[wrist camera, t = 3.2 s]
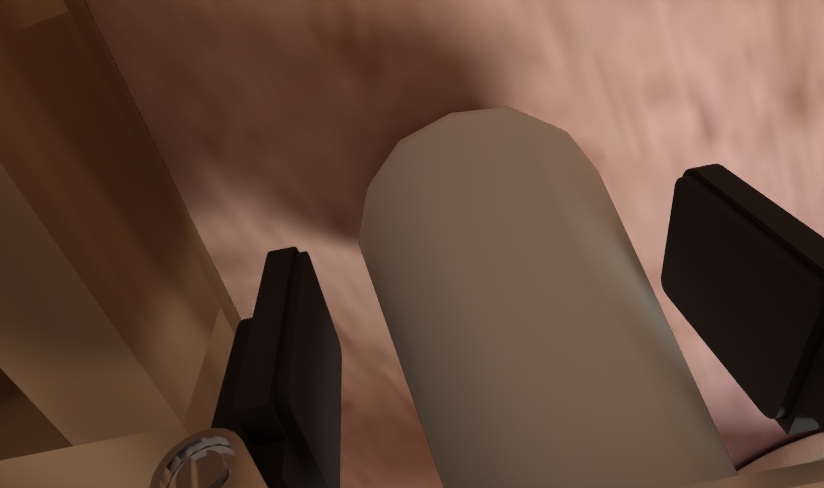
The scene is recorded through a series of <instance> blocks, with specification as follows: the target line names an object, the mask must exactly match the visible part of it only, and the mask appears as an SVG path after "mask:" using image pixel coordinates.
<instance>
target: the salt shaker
mask: <svg viewBox="0 0 824 488" xmlns="http://www.w3.org/2000/svg"><path fill="white" fill-rule="evenodd" d="M359 246H360V249H361V252H362V255H363V257H364V260H365V263H366V266H367V269H368V272H369V275H370V278H371V280H372V283H373V286H374V289H375V292H376V295H377V298H378V300H379V303H380V306H381V309H382V312H383V315H384V318H385V321H386V323H387V326H388V329H389V332H390V335H391V338H392V341H393V344H394V346H395V349H396V352H397V355H398V358H399V361H400V364H401V366H402V369H403V372H404V375H405V378H406V381H407V384H408V387H409V389H410V392H411V395H412V398H413V401H414V404H415V407H416V410H417V412H418V415H419V418H420V421H421V424H422V427H423V430H424V432H425V435H426V438H427V441H428V444H429V447H430V450H431V453H432V455H433V458H434V461H435V464H436V467H437V470H438V473H439V476H440V478H441V481H442V484H443V487H444V488H677V487H682V486H687V485H693V484H698V483H703V482H708V481H714V480H719V479H724V478H729V477H734V476H738V474H737V472H736V470H735V468H734V465H733V463H732V461H731V459H730V457H729V455H728V452H727V450H726V448H725V446H724V444H723V441H722V439H721V437H720V435H719V433H718V431H717V428H716V426H715V424H714V422H713V420H712V418H711V415H710V413H709V411H708V409H707V407H706V404H705V402H704V400H703V398H702V396H701V394H700V391H699V389H698V387H697V385H696V383H695V381H694V378H693V376H692V374H691V372H690V370H689V367H688V365H687V363H686V361H685V359H684V357H683V354H682V352H681V350H680V348H679V346H678V343H677V341H676V339H675V337H674V335H673V333H672V330H671V328H670V326H669V324H668V322H667V320H666V317H665V315H664V313H663V311H662V309H661V306H660V304H659V302H658V300H657V298H656V296H655V293H654V291H653V289H652V287H651V285H650V283H649V280H648V278H647V276H646V274H645V272H644V269H643V267H642V265H641V263H640V261H639V259H638V256H637V254H636V252H635V250H634V248H633V246H632V243H631V241H630V239H629V237H628V235H627V232H626V230H625V228H624V226H623V224H622V222H621V219H620V217H619V215H618V213H617V211H616V209H615V206H614V204H613V202H612V200H611V198H610V195H609V193H608V191H607V189H606V187H605V185H604V182H603V180H602V178H601V176H600V174H599V172H598V170H597V169H596V167H595V166H594V165H593V164H592V162H591V161H590V160H589V159H588V157H587V156H586V155H585V154H584V152H583V151H582V150H581V149H580V147H579V146H578V145H577V144H576V142H575V141H574V140H573V139H572V137H571V136H570V135H569V134H568V132H566V131H564V130H562V129H560V128H558V127H556V126H553V125H551V124H549V123H546V122H544V121H542V120H539V119H537V118H534V117H532V116H530V115H527V114H525V113H523V112H520V111H518V110H516V109H513V108H511V107H508V106H506V107H498V108H489V109H481V110H472V111H464V112H455V113H449V114H448V115H446V116H444V117H442V118H440V119H438V120H436V121H435V122H433V123H431V124H429V125H427V126H425V127H424V128H422V129H420V130H418V131H416V132H414V133H412V134H411V135H409V136H407V137H405V138H403V139H401V140H399V141H398V143H397V144H396V146H395V147H394V149H393V150H392V152H391V153H390V155H389V156H388V158H387V159H386V161H385V162H384V164H383V165H382V166H381V168H380V169H379V171H378V172H377V174H376V175H375V177H374V178H373V180H372V181H371V183H370V184H369V186H368V189H367V193H366V197H365V204H364V210H363V217H362V224H361V230H360V237H359Z"/></svg>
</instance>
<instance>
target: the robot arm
mask: <svg viewBox="0 0 824 488" xmlns="http://www.w3.org/2000/svg"><path fill="white" fill-rule="evenodd" d="M661 283H662V287H663V290H664V292H665V293H666V295H667V296H668V297H669V299H670V300H671V301H672V302H673V304H674V305H675V306H676V307H677V308H678V310H679V311H680V312H681V313H682V315H683V316H684V317H685V318H686V320H687V321H688V322H689V323H690V325H691V326H692V327H693V328H694V330H695V331H696V332H697V333H698V334H699V336H700V337H701V338H702V339H703V341H704V342H705V343H706V344H707V346H708V347H709V348H710V349H711V351H712V352H713V353H714V354H715V355H716V357H717V358H718V359H719V360H720V362H721V363H722V364H723V365H724V367H725V368H726V369H727V370H728V372H729V373H730V374H731V375H732V377H733V378H734V379H735V380H736V381H737V383H738V384H739V385H740V386H741V388H742V389H743V390H744V391H745V393H746V394H747V395H748V396H749V398H750V399H751V400H752V401H753V403H754V404H755V405H756V406H757V407H758V409H759V410H760V411H761V412H762V413H763V414H764V415H765V416H766V417H768V418H770V419H775V420H776V421H777V422H778V424H779V425H780V426H781V427H782V428H783V430H784V431H785V432H786V433H787V434H788V435H790V434H795V433H800V432H806V431H811V430H816V429H818V427H819V426H820V427H821V428H822V429H823V430H824V237H822V236H821V235H819V234H818V233H816V232H815V231H814V230H812V229H811V228H809V227H808V226H807V225H805V224H804V223H802V222H801V221H799V220H798V219H797V218H795V217H794V216H792V215H791V214H790V213H788V212H787V211H785V210H784V209H783V208H781V207H780V206H778V205H777V204H775V203H774V202H773V201H771V200H770V199H768V198H767V197H766V196H764V195H763V194H761V193H760V192H758V191H757V190H756V189H754V188H753V187H751V186H750V185H749V184H747V183H746V182H744V181H743V180H742V179H740V178H739V177H737V176H736V175H734V174H733V173H732V172H730V171H729V170H727V169H726V168H725V167H723V166H722V165H719V164H711V165H706V166H701V167H696V168H691V169H688V170H686V171H685V172H684V174H683V177H681V178H679V179H678V180H677V181H676V184H675V189H674V196H673V202H672V209H671V215H670V222H669V228H668V235H667V241H666V248H665V255H664V261H663V268H662V274H661ZM341 371H342V354H341V347H340V342H339V339H338V336H337V333H336V330H335V328H334V325H333V322H332V319H331V316H330V313H329V310H328V308H327V305H326V302H325V299H324V296H323V293H322V291H321V288H320V285H319V282H318V279H317V276H316V273H315V271H314V268H313V265H312V262H311V259H310V256H309V254H308V252H306V251H305V252H300V253H299V251H298V249H297V248H296V247H290V248H285V249H280V250H274V251H270V252H268V254H267V257H266V262H265V266H264V270H263V275H262V279H261V283H260V288H259V292H258V296H257V301H256V305H255V309H254V314H253V318H249V319H244V320H241V321H240V322H239V324H238V326H237V329H236V333H235V337H234V341H233V345H232V348H231V352H230V356H229V360H228V364H227V367H226V371H225V375H224V379H223V383H222V387H221V390H220V394H219V398H218V402H217V406H216V409H215V413H214V417H213V421H212V425H211V429H207V430H203V431H199V432H197V433H195V434H193V435H191V436H189V437H187V438H185V439H184V440H182V441H181V442H180V443H178V444H177V445H176V446H174V447H173V448H172V449H171V450H170V451H169V452H168V453H167V454H166V456H165V457H164V458H163V459H162V460H161V461H160V463H159V465H158V467H157V468H156V470H155V472H154V474H153V476H152V480H151V483H150V487H149V488H340V437H341ZM737 474H738V476H734V477H729V478H724V479H719V480H714V481H708V482H703V483H698V484H693V485H687V486H682V487H677V488H824V432H820V433H817V434H813V435H810V436H807V437H805V438H802V439H800V440H797V441H795V442H792V443H789V444H787V445H784V446H782V447H780V448H778V449H776V450H774V451H772V452H770V453H768V454H766V455H764V456H762V457H760V458H758V459H756V460H755V461H753V462H751V463H750V464H748V465H747V466H745V467H743V468H742V469H740V470H738V471H737Z"/></svg>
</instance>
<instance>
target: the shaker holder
mask: <svg viewBox="0 0 824 488" xmlns="http://www.w3.org/2000/svg"><path fill="white" fill-rule="evenodd" d="M240 321H241V319H240V317H239V315H238V313H237V311H236V309H235V307H234V305H233V303H232V301H231V299H230V297H229V295H228V293H227V290H226V288H225V286H224V284H223V282H222V280H221V278H220V276H219V274H218V272H217V270H216V268H215V266H214V264H213V262H212V260H211V258H210V256H209V254H208V252H207V250H206V248H205V246H204V244H203V242H202V240H201V238H200V236H199V234H198V231H197V229H196V227H195V225H194V223H193V221H192V219H191V217H190V215H189V213H188V211H187V209H186V207H185V205H184V203H183V201H182V199H181V197H180V195H179V193H178V191H177V189H176V187H175V185H174V183H173V181H172V179H171V177H170V175H169V172H168V170H167V168H166V166H165V164H164V162H163V160H162V158H161V156H160V154H159V152H158V150H157V148H156V146H155V144H154V142H153V140H152V138H151V136H150V134H149V132H148V130H147V128H146V126H145V124H144V122H143V120H142V118H141V115H140V113H139V111H138V109H137V107H136V105H135V103H134V101H133V99H132V97H131V95H130V93H129V91H128V89H127V87H126V85H125V83H124V81H123V79H122V77H121V75H120V73H119V71H118V69H117V67H116V65H115V63H114V61H113V59H112V56H111V54H110V52H109V50H108V48H107V46H106V44H105V42H104V40H103V38H102V36H101V34H100V32H99V30H98V28H97V26H96V24H95V22H94V20H93V18H92V16H91V14H90V12H89V10H88V8H87V6H86V4H85V2H84V0H0V488H149V487H150V483H151V480H152V476H153V474H154V472H155V470H156V468H157V467H158V465H159V463H160V461H161V460H162V459H163V458H164V457H165V456H166V454H167V453H168V452H169V451H170V450H171V449H172V448H173V447H174V446H176V445H177V444H178V443H180V442H181V441H182V440H184V439H185V438H187V437H189V436H191V435H193V434H195V433H197V432H199V431H203V430H207V429H211V425H212V421H213V417H214V413H215V409H216V406H217V402H218V398H219V394H220V390H221V387H222V383H223V379H224V375H225V371H226V367H227V364H228V360H229V356H230V352H231V348H232V345H233V341H234V337H235V333H236V329H237V326H238V324H239V322H240Z"/></svg>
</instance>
